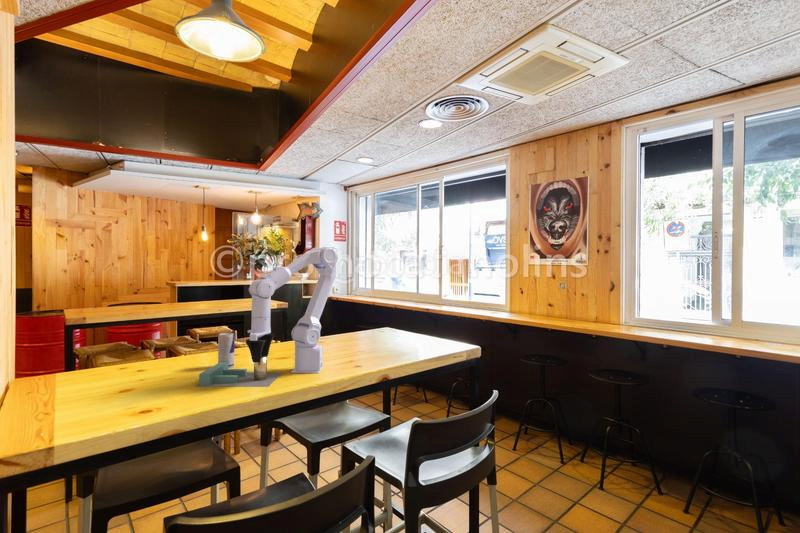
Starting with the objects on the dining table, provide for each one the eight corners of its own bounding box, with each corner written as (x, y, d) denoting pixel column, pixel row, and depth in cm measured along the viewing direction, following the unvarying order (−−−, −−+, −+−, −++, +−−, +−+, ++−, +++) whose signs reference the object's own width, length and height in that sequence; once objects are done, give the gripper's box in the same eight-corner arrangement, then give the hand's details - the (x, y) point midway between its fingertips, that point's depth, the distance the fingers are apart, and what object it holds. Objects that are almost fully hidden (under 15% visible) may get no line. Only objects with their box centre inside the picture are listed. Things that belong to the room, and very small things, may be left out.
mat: (282, 372, 132) (282, 372, 132) (268, 387, 116) (268, 386, 116) (217, 372, 132) (217, 372, 132) (194, 387, 116) (194, 386, 116)
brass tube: (268, 377, 126) (268, 355, 126) (264, 380, 122) (264, 358, 122) (256, 377, 126) (256, 355, 126) (251, 380, 122) (252, 358, 122)
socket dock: (249, 372, 131) (249, 362, 131) (232, 385, 117) (232, 374, 117) (219, 372, 131) (219, 362, 131) (199, 385, 117) (199, 373, 117)
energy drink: (237, 365, 141) (237, 332, 141) (229, 369, 136) (229, 335, 136) (223, 365, 141) (223, 332, 141) (214, 368, 136) (215, 334, 136)
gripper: (256, 313, 131) (255, 353, 131) (239, 319, 117) (239, 364, 117) (277, 314, 131) (276, 354, 131) (263, 319, 117) (262, 364, 117)
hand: (260, 359), depth 124 cm, fingers open, 7 cm apart
